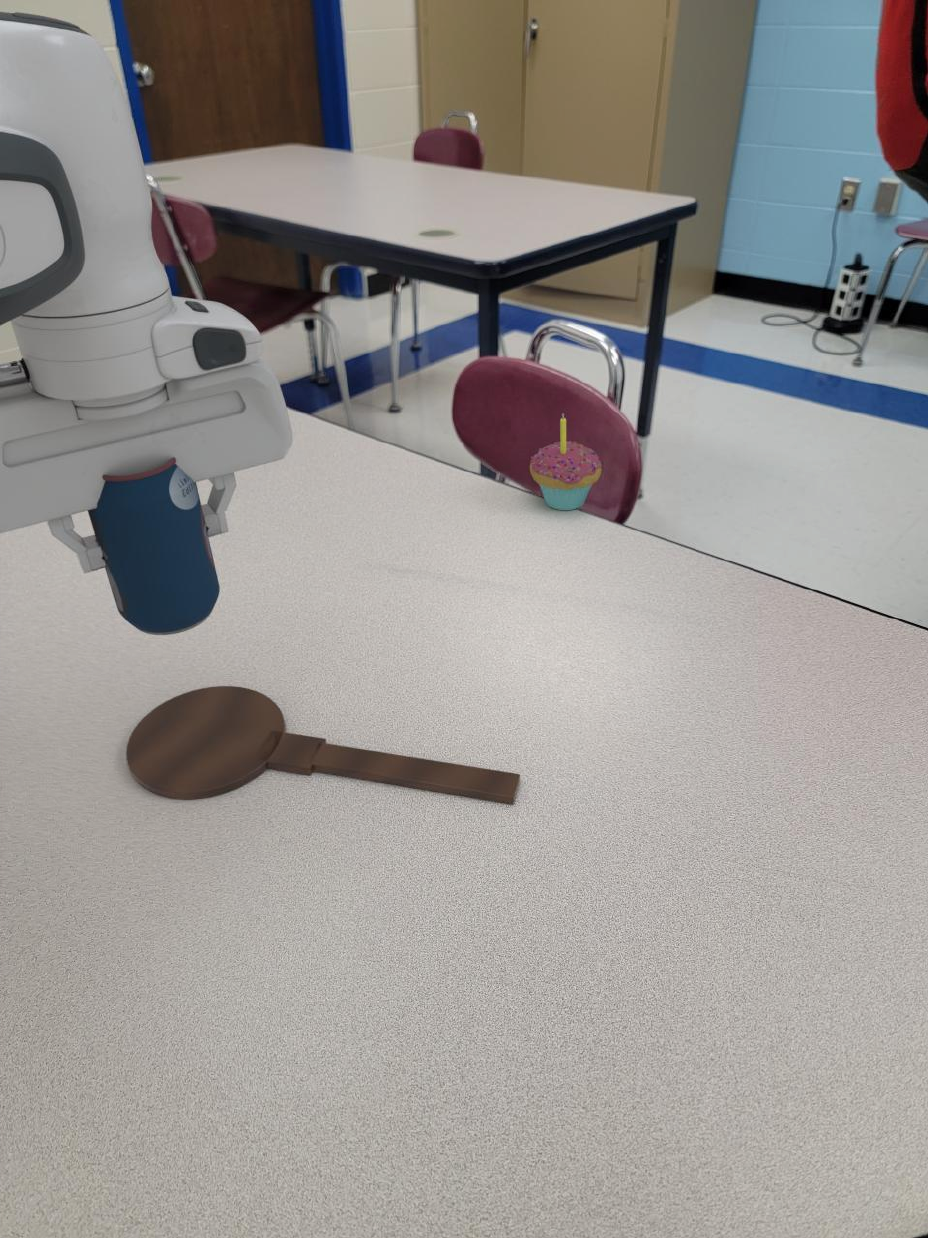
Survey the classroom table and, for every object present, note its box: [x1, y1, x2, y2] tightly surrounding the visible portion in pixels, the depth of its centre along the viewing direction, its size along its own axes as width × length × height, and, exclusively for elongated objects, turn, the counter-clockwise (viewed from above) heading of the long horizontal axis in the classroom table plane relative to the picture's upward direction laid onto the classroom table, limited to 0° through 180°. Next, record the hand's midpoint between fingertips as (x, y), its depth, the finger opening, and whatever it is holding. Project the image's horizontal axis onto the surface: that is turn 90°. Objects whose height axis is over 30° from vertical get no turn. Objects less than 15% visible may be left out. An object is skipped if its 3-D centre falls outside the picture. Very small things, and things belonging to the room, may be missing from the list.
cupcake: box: [529, 412, 603, 511], centre depth 105 cm, size 9×8×12 cm
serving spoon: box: [125, 685, 521, 805], centre depth 74 cm, size 33×13×1 cm, turn 76°
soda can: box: [87, 457, 221, 636], centre depth 60 cm, size 7×7×12 cm
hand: (156, 548), depth 61 cm, fingers closed on soda can, 7 cm apart
